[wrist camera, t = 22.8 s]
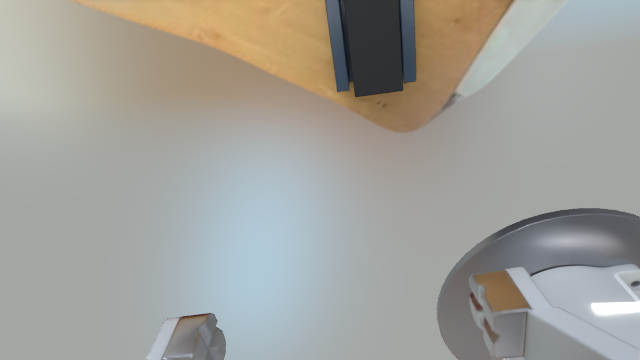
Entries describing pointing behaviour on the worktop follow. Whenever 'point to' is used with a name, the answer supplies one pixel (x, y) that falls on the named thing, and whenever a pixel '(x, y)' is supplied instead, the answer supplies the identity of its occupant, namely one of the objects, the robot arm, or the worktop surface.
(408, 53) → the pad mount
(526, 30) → the worktop surface
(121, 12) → the worktop surface
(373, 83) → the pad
